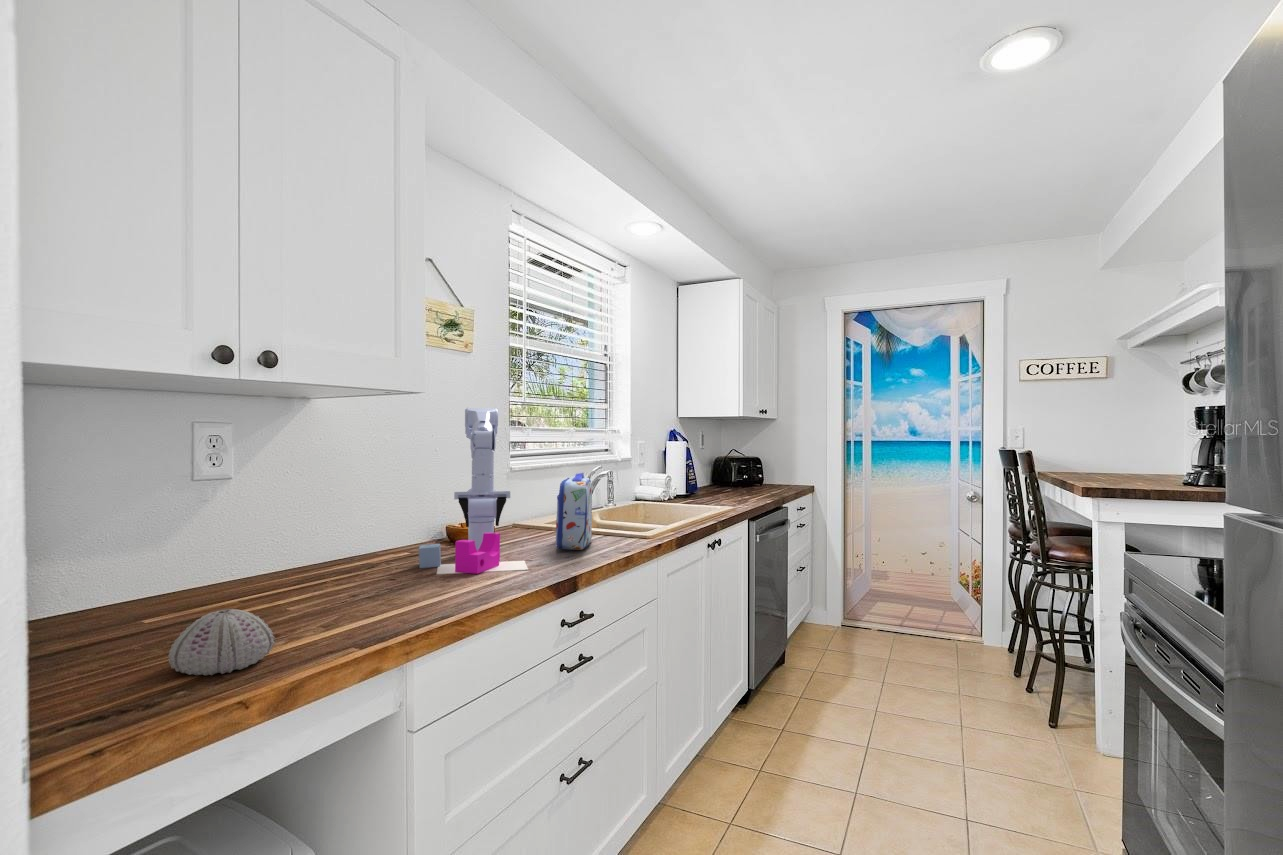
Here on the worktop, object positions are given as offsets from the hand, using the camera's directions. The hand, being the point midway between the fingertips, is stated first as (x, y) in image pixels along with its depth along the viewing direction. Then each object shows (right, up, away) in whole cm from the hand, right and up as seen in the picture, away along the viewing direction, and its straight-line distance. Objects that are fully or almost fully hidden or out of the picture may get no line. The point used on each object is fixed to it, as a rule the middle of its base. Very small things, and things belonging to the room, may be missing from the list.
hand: (482, 526), depth 170 cm
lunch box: (+22, -10, +25) cm, 35 cm away
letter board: (+2, -10, -7) cm, 12 cm away
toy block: (+2, -9, -7) cm, 12 cm away
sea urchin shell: (-20, -9, -75) cm, 78 cm away
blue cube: (-12, -9, -5) cm, 16 cm away
